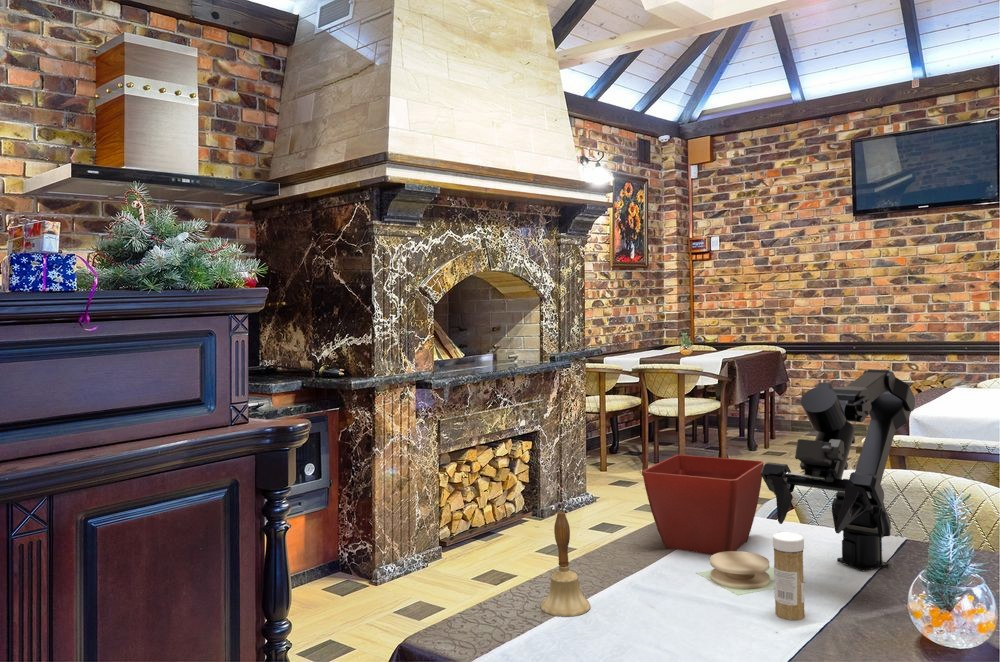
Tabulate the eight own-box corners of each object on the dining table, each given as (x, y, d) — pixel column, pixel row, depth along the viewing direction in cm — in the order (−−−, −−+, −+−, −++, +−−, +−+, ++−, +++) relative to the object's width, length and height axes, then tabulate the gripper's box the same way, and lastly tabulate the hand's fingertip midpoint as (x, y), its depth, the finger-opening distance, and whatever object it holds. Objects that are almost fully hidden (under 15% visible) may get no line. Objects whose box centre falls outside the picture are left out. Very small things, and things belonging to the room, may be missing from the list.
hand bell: (557, 621, 125) (554, 521, 124) (531, 604, 132) (528, 510, 132) (600, 610, 129) (597, 513, 128) (573, 594, 136) (570, 503, 136)
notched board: (759, 567, 147) (759, 561, 147) (805, 587, 136) (805, 582, 136) (695, 578, 142) (695, 572, 142) (738, 601, 131) (738, 595, 131)
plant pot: (642, 553, 157) (640, 470, 156) (678, 529, 173) (676, 453, 172) (737, 569, 146) (735, 479, 145) (766, 542, 162) (765, 461, 161)
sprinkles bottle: (811, 622, 121) (810, 536, 121) (793, 629, 119) (791, 541, 118) (786, 612, 125) (784, 529, 125) (767, 620, 123) (766, 534, 122)
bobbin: (744, 566, 145) (744, 548, 144) (782, 583, 135) (782, 564, 135) (699, 574, 141) (698, 555, 141) (734, 593, 132) (733, 573, 132)
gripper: (763, 416, 137) (736, 491, 129) (877, 424, 124) (855, 508, 117) (783, 454, 143) (758, 527, 135) (893, 465, 130) (872, 547, 123)
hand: (807, 527), depth 127 cm, fingers open, 9 cm apart
